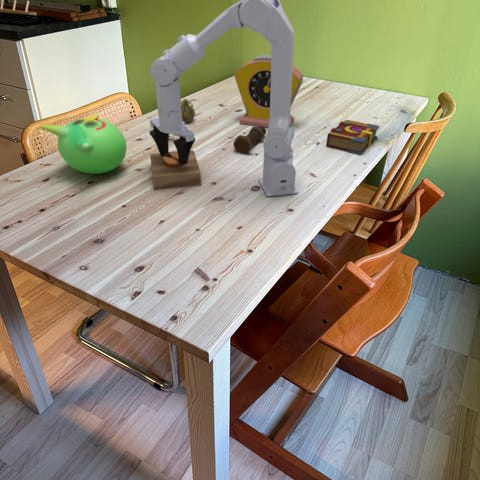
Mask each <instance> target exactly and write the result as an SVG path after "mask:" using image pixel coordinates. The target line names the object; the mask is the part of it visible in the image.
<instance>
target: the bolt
mask: <svg viewBox="0 0 480 480" xmlns="http://www.w3.org/2000/svg"><path fill="white" fill-rule="evenodd" d="M266 134H267V129H266V127H262V126H253V127H252V128H250V130H249V132H248V134H246V135H240V134H239V135H237V137H236V138H235V140H234V142H233V143H232V144H233V148H234V150H235V151H236V153H238V154H241V155H248V154H250V152H251V150H252V149H253V146H254V145H253V144H256V143H260V142H262V141H263V139H264V137H265V135H266Z"/></svg>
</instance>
